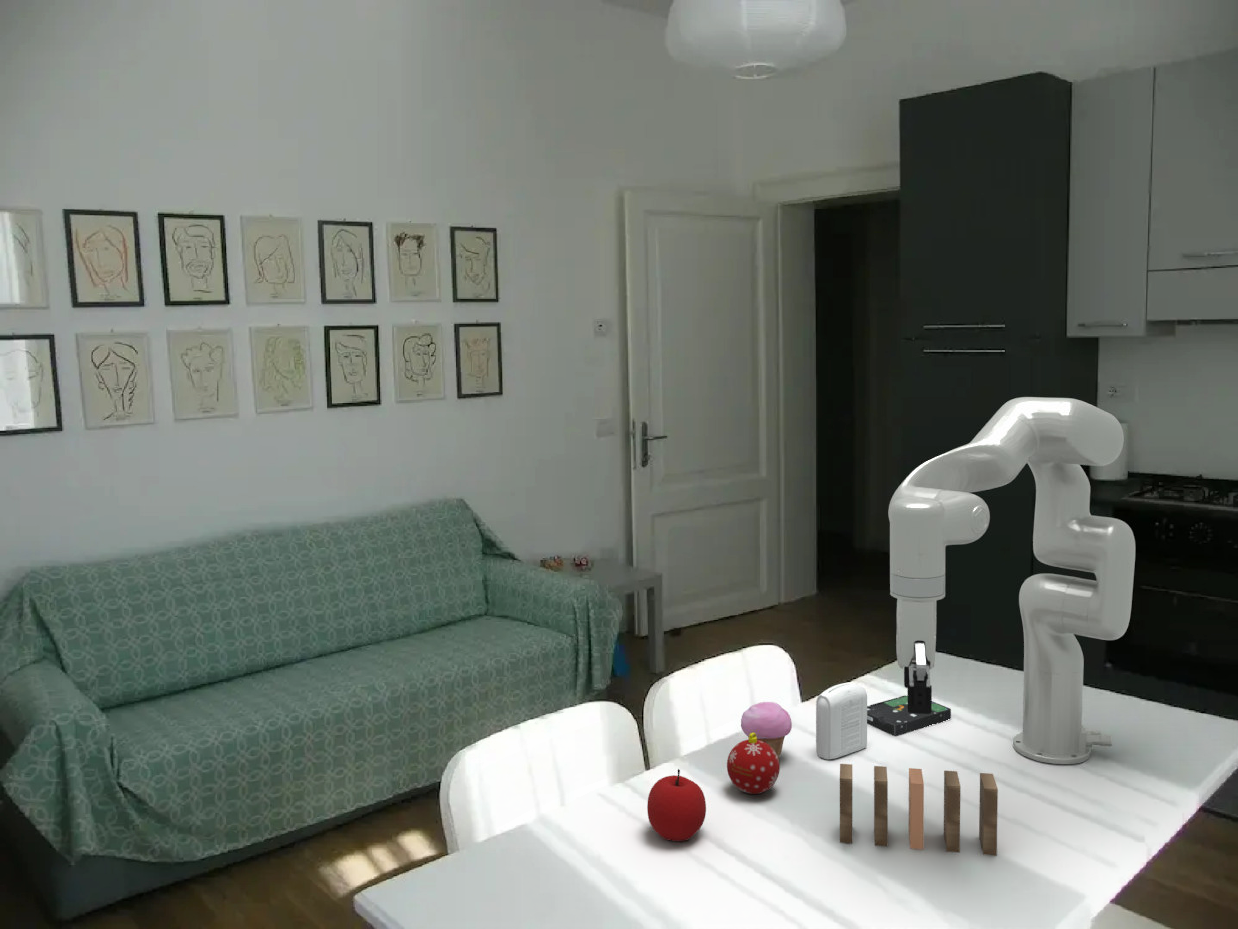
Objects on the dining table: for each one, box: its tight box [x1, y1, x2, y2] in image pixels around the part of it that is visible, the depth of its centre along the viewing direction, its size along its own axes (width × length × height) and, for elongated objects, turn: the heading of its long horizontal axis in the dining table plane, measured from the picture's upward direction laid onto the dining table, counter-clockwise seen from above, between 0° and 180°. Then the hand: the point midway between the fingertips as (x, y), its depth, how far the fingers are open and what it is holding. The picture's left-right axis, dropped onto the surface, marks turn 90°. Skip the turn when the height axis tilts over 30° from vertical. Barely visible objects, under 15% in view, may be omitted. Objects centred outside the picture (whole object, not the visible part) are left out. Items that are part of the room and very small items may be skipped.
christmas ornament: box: [726, 733, 780, 795], centre depth 163 cm, size 9×9×10 cm
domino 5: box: [978, 772, 999, 856], centre depth 143 cm, size 2×5×10 cm, turn 167°
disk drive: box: [867, 694, 952, 737], centre depth 191 cm, size 10×3×15 cm
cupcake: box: [740, 701, 793, 760], centre depth 175 cm, size 9×9×10 cm
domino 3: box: [908, 767, 925, 850], centre depth 145 cm, size 2×5×10 cm, turn 167°
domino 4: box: [943, 770, 961, 853], centre depth 144 cm, size 2×5×10 cm, turn 167°
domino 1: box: [839, 763, 853, 845], centre depth 148 cm, size 2×5×10 cm, turn 167°
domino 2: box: [873, 765, 889, 847], centre depth 146 cm, size 2×5×10 cm, turn 167°
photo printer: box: [815, 682, 868, 761], centre depth 177 cm, size 10×4×12 cm, turn 123°
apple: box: [646, 768, 707, 842], centre depth 150 cm, size 9×9×10 cm
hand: (917, 699), depth 143 cm, fingers open, 9 cm apart
